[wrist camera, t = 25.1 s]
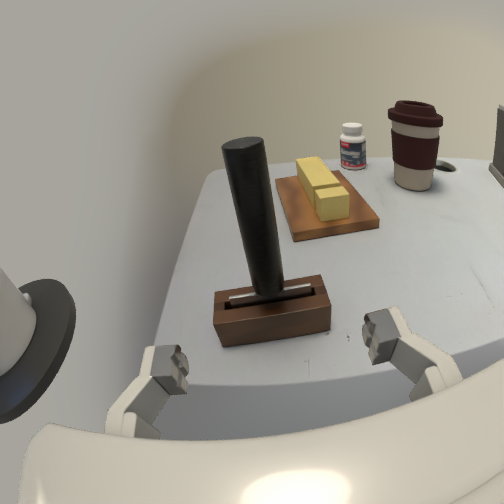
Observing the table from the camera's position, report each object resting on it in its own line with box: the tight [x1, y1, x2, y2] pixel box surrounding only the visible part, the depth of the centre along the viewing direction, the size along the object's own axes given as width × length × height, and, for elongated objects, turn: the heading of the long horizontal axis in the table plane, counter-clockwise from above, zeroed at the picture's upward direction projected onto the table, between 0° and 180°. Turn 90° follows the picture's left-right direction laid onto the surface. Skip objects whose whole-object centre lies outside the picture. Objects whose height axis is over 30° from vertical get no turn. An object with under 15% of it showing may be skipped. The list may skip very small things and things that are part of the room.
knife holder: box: [213, 275, 331, 347], centre depth 26 cm, size 10×4×4 cm, turn 93°
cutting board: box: [275, 170, 379, 242], centre depth 43 cm, size 12×18×2 cm, turn 3°
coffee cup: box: [388, 101, 443, 191], centre depth 40 cm, size 10×10×15 cm
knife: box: [221, 137, 311, 309], centre depth 21 cm, size 7×3×17 cm, turn 93°
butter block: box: [296, 157, 340, 208], centre depth 43 cm, size 4×12×4 cm, turn 3°
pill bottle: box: [340, 123, 366, 170], centre depth 51 cm, size 5×5×9 cm
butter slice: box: [315, 186, 349, 222], centre depth 36 cm, size 4×3×4 cm, turn 93°
